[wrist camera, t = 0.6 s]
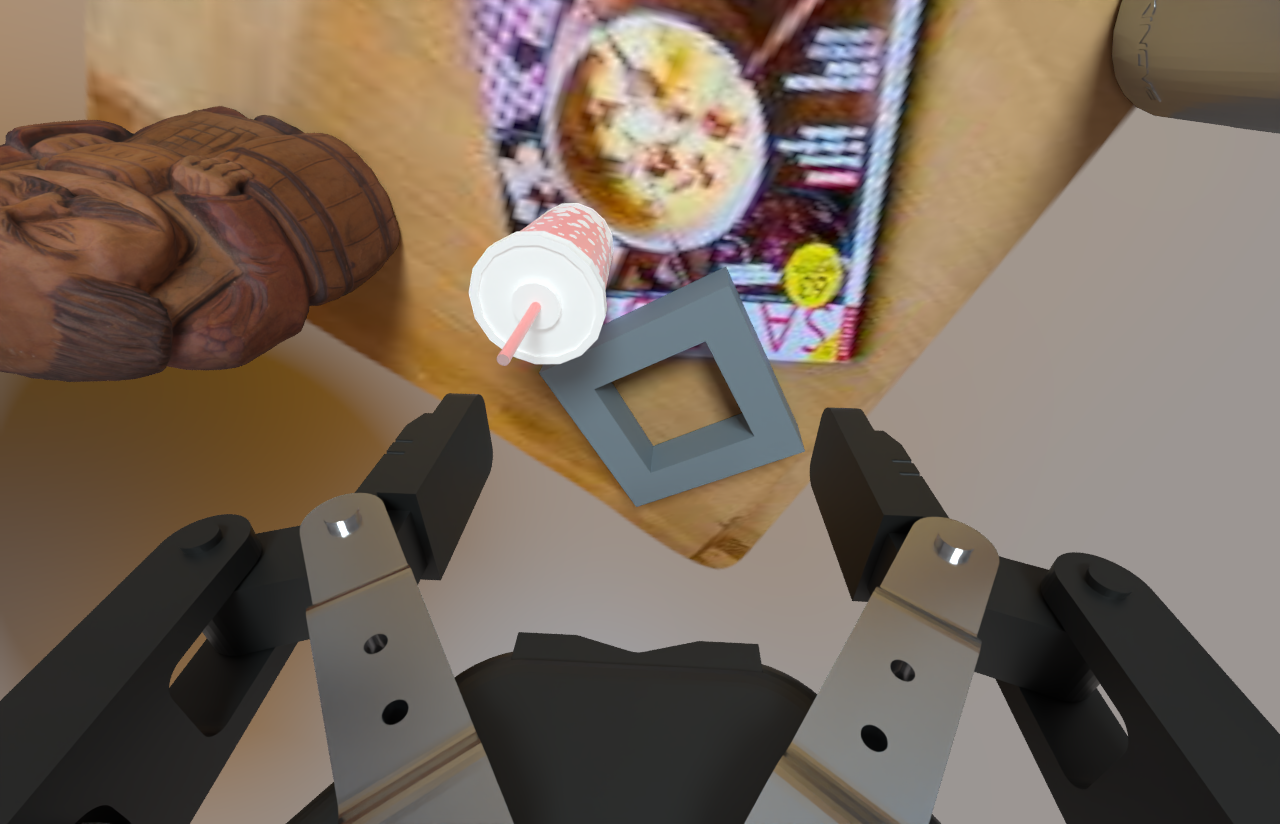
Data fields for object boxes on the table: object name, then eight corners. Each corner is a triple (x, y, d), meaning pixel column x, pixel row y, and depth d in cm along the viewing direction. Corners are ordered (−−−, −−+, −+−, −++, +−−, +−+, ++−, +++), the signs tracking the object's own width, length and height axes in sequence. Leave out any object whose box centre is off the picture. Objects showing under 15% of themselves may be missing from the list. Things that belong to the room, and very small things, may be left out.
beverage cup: (549, 165, 28) (450, 242, 16) (646, 226, 29) (617, 337, 18) (507, 259, 31) (399, 380, 20) (596, 311, 32) (544, 451, 21)
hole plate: (726, 266, 30) (728, 285, 28) (797, 424, 36) (804, 451, 34) (550, 350, 34) (539, 373, 32) (639, 479, 40) (636, 507, 38)
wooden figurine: (412, 162, 28) (110, 278, 14) (406, 268, 32) (161, 452, 17) (188, 80, 27) (-418, 112, 12) (207, 202, 31) (-244, 339, 16)
